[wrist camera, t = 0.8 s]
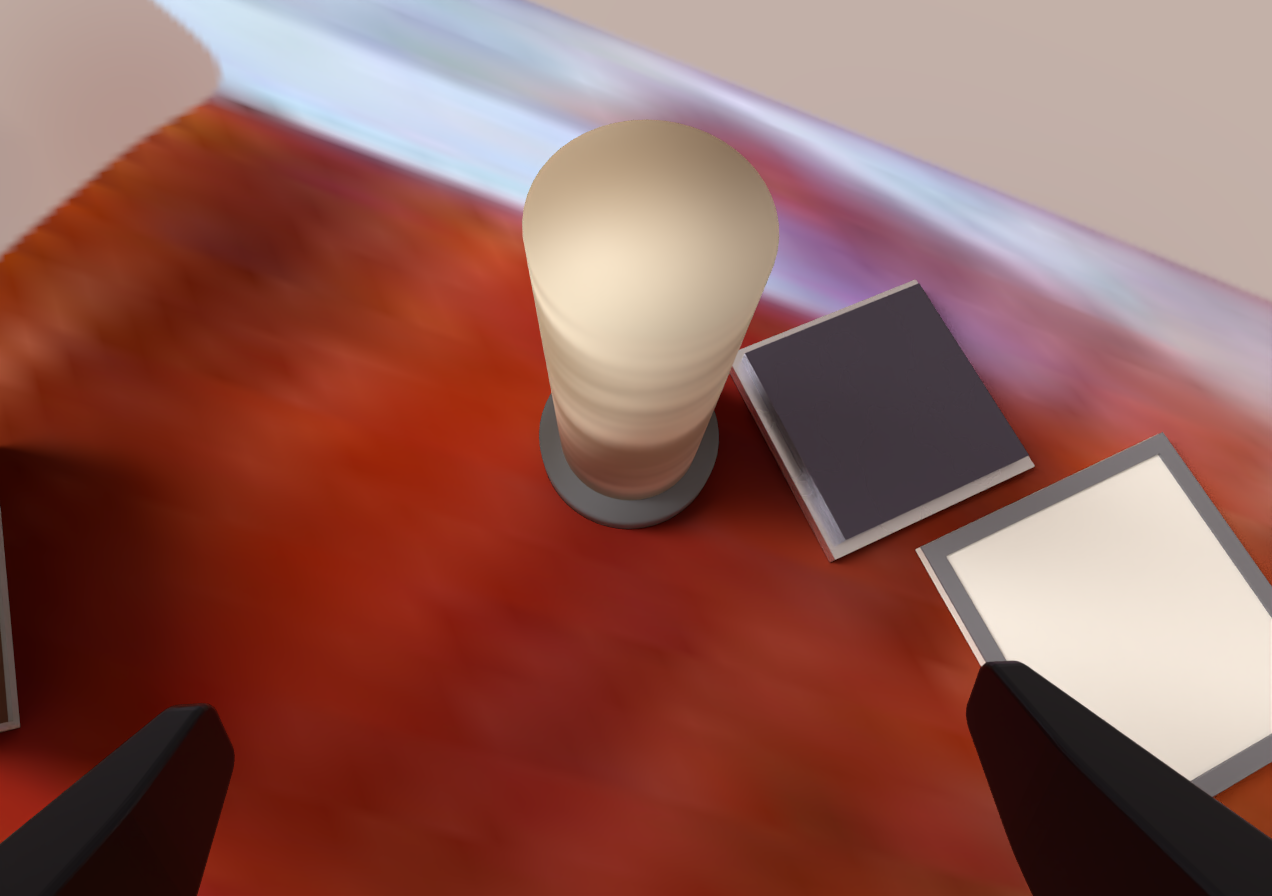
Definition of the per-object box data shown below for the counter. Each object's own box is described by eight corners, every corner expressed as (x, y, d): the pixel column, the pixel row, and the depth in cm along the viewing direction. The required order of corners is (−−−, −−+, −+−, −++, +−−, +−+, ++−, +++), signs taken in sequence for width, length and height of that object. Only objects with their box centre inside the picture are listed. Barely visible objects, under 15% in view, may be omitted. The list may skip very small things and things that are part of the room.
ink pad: (1024, 471, 25) (1045, 461, 24) (829, 562, 23) (841, 556, 22) (908, 287, 27) (922, 270, 26) (724, 362, 26) (729, 347, 24)
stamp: (742, 487, 24) (878, 302, 12) (582, 557, 23) (559, 431, 11) (669, 343, 26) (726, 54, 14) (516, 402, 25) (435, 147, 13)
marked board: (1342, 709, 23) (1358, 710, 22) (1090, 858, 21) (1101, 862, 21) (1152, 436, 25) (1162, 432, 25) (915, 549, 24) (921, 546, 23)
